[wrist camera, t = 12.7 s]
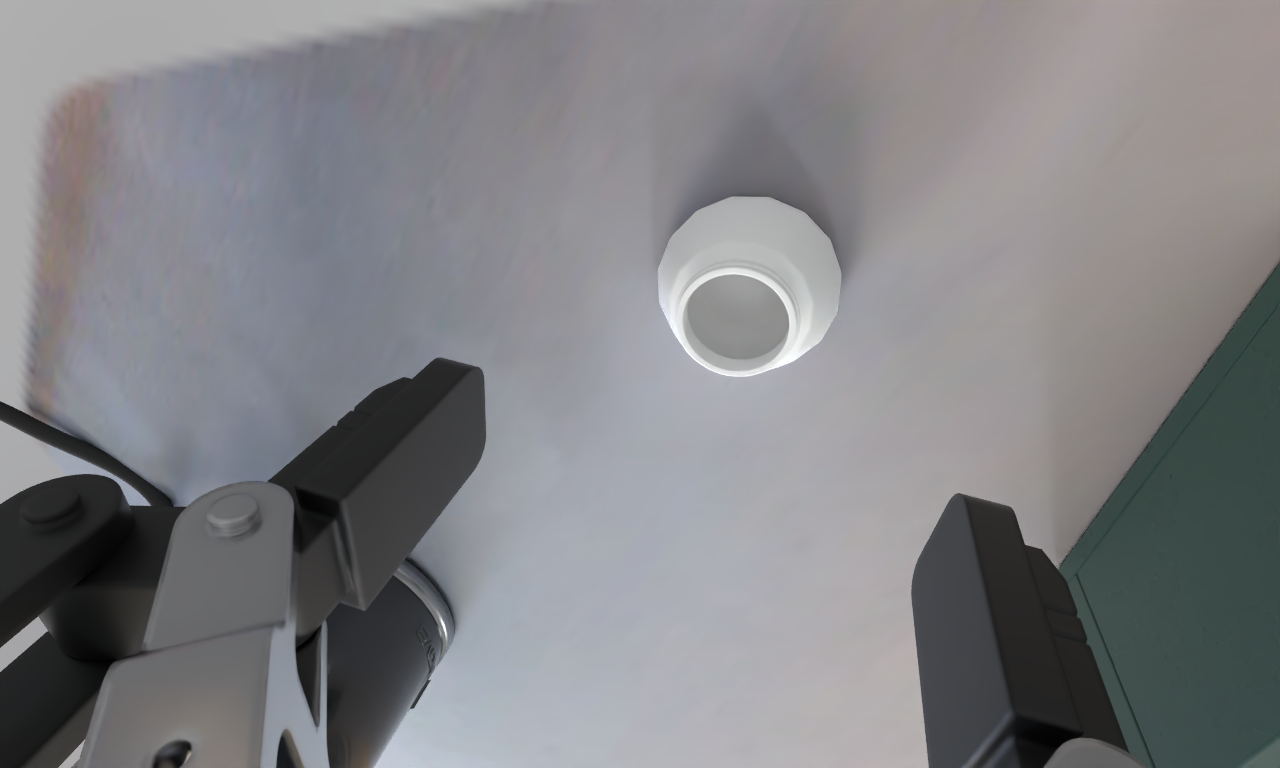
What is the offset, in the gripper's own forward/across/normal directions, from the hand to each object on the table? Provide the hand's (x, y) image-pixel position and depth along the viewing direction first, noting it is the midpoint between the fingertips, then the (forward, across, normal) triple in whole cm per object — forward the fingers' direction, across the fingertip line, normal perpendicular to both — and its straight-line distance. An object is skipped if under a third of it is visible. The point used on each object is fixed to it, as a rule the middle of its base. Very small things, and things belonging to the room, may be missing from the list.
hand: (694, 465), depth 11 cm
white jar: (+9, 0, 0) cm, 9 cm away
